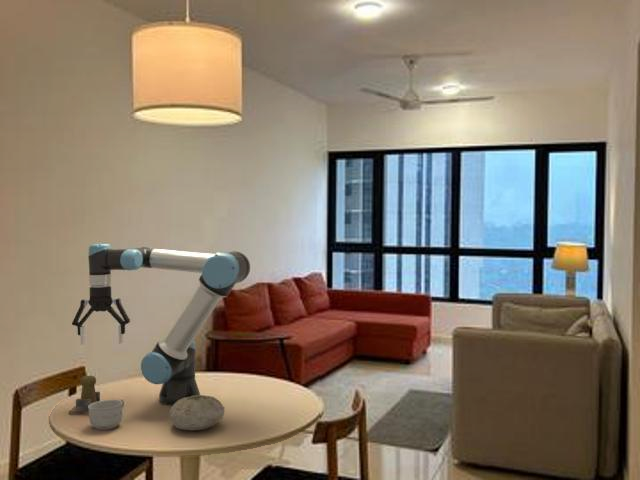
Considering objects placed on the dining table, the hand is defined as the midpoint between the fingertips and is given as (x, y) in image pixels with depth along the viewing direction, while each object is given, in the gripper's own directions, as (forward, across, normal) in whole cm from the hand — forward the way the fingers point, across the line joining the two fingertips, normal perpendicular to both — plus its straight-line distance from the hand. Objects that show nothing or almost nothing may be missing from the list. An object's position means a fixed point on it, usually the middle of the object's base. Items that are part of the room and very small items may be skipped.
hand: (101, 343), depth 229 cm
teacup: (+23, -8, +23) cm, 34 cm away
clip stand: (+23, +4, +6) cm, 24 cm away
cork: (+22, +4, +6) cm, 23 cm away
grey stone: (+24, -37, +26) cm, 51 cm away
